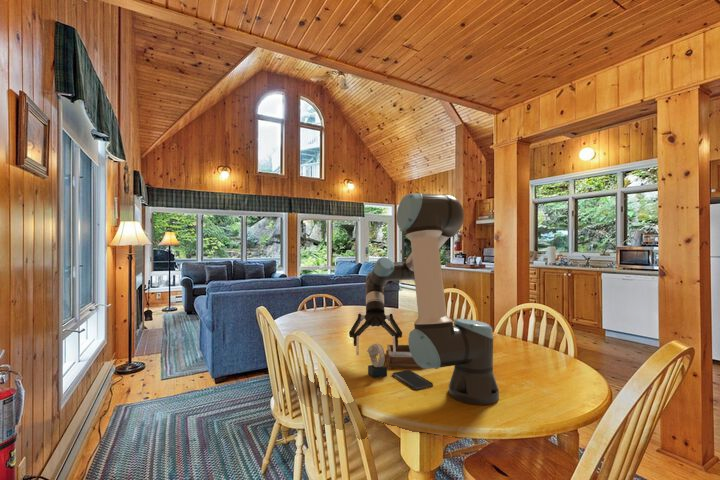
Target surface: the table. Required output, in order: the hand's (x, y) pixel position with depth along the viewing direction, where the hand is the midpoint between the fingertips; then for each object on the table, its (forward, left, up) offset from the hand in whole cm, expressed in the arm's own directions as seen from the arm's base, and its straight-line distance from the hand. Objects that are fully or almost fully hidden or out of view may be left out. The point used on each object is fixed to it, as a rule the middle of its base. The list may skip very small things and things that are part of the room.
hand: (376, 353), depth 132 cm
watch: (-2, 0, -7) cm, 8 cm away
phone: (-7, -12, -8) cm, 16 cm away
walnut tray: (+14, -12, -7) cm, 20 cm away
